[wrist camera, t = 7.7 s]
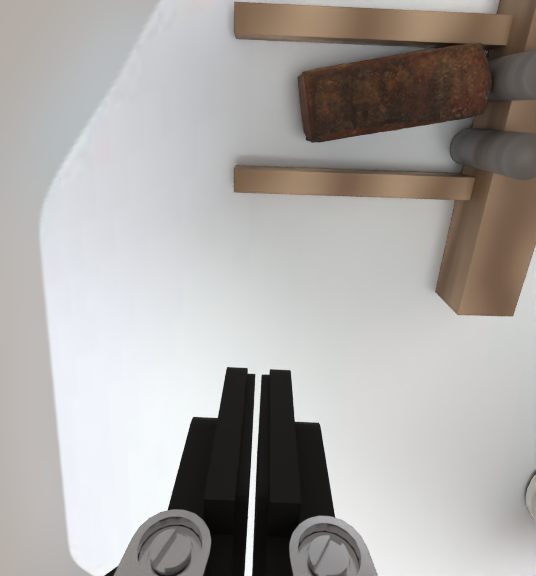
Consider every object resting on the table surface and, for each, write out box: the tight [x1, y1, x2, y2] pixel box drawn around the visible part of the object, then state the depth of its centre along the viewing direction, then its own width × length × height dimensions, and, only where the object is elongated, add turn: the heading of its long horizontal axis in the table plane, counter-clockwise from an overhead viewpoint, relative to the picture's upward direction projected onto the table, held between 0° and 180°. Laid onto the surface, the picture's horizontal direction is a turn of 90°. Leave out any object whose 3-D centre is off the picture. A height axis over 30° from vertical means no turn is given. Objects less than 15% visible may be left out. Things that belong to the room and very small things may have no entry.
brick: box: [298, 43, 492, 142], centre depth 25 cm, size 11×4×5 cm, turn 99°
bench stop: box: [234, 0, 536, 316], centre depth 24 cm, size 20×26×7 cm
